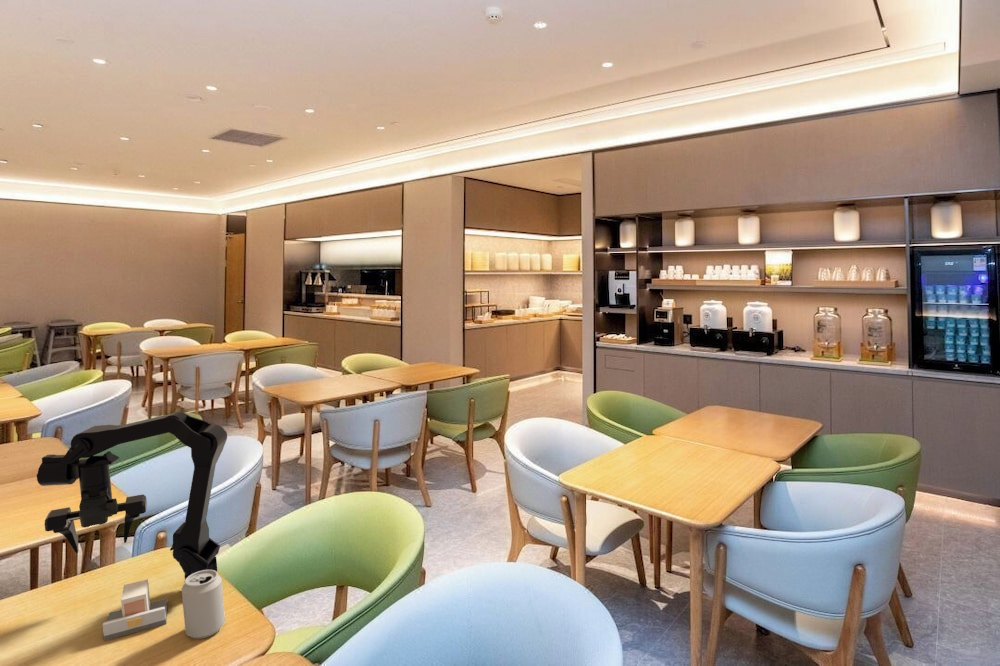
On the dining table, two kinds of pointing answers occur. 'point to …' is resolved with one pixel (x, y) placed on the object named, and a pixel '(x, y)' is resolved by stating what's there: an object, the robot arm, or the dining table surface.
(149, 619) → the grey drawer
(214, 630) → the can
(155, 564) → the dining table surface
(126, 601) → the carton
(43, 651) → the dining table surface
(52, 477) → the robot arm
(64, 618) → the dining table surface
